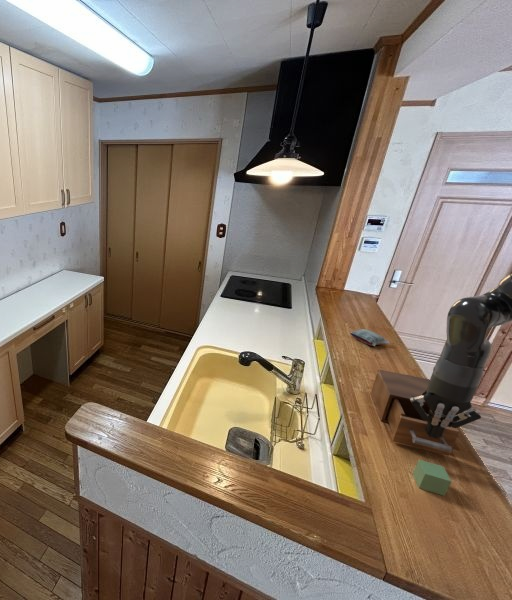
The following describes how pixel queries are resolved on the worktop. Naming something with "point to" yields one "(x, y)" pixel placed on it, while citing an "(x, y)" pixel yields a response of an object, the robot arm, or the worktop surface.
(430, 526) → the worktop surface
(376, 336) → the packaged food
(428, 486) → the block
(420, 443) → the drawer
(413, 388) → the cabinet
